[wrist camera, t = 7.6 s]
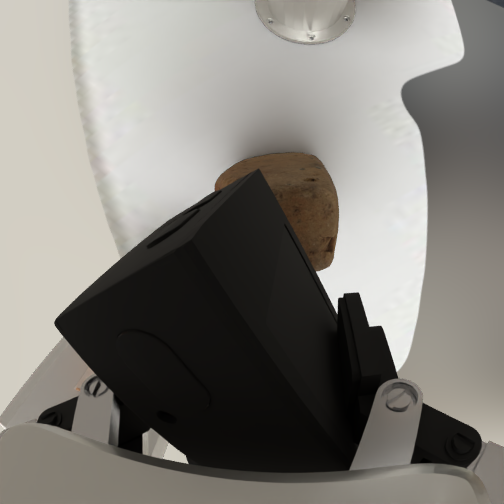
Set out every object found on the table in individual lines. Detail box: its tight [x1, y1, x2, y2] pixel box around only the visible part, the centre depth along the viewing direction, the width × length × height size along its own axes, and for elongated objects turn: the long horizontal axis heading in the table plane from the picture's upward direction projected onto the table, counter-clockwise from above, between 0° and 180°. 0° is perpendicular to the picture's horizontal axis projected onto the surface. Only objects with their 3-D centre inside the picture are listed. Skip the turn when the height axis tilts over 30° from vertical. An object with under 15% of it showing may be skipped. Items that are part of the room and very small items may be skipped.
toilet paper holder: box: [0, 337, 169, 459], centre depth 29 cm, size 11×11×35 cm
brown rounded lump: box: [215, 153, 339, 271], centre depth 29 cm, size 11×8×20 cm
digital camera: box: [54, 168, 359, 473], centre depth 9 cm, size 10×5×7 cm, turn 31°
